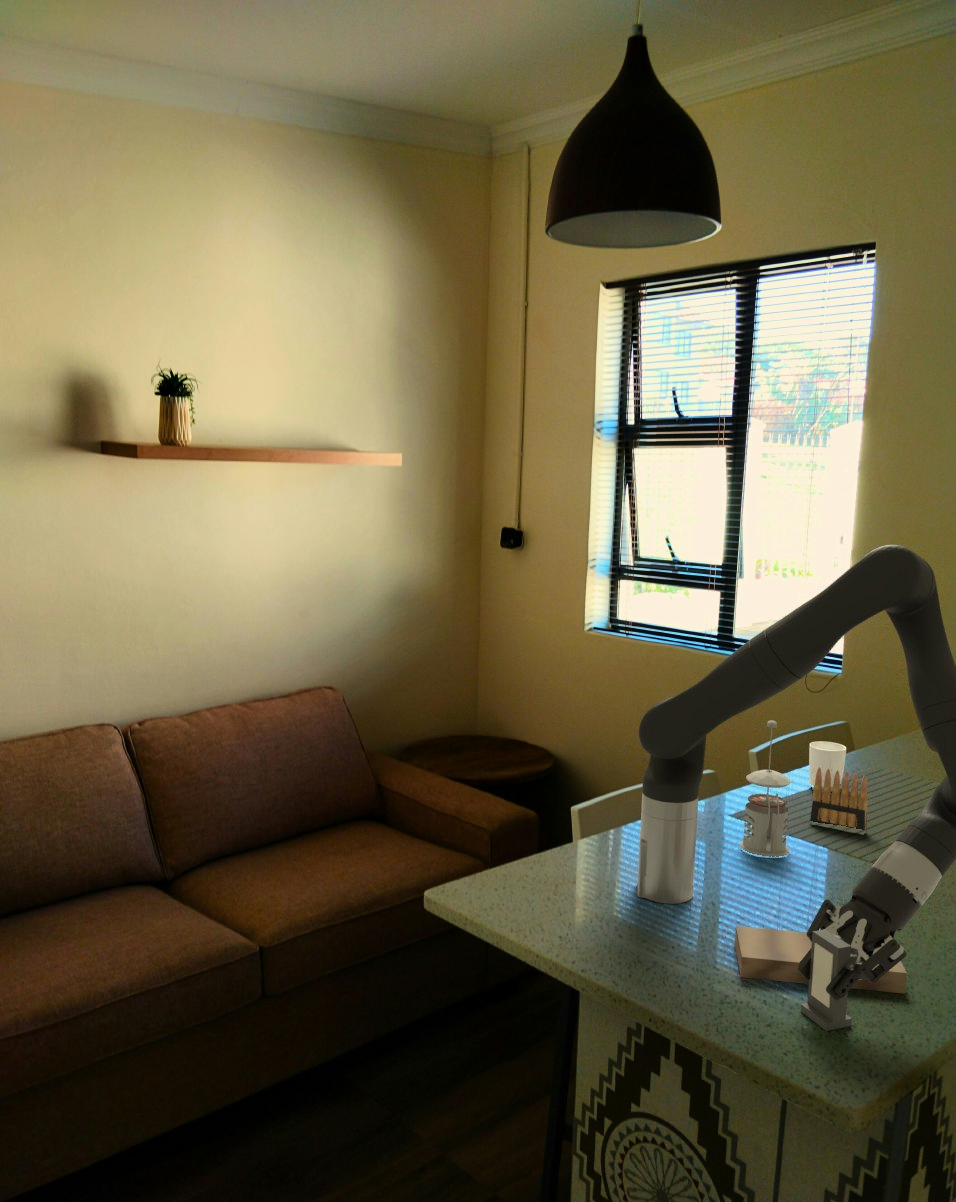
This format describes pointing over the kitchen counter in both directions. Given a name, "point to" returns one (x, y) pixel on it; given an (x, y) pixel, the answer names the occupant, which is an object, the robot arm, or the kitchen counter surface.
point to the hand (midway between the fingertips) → (817, 984)
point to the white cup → (826, 760)
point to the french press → (766, 813)
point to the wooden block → (794, 959)
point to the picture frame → (826, 981)
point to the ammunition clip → (839, 801)
